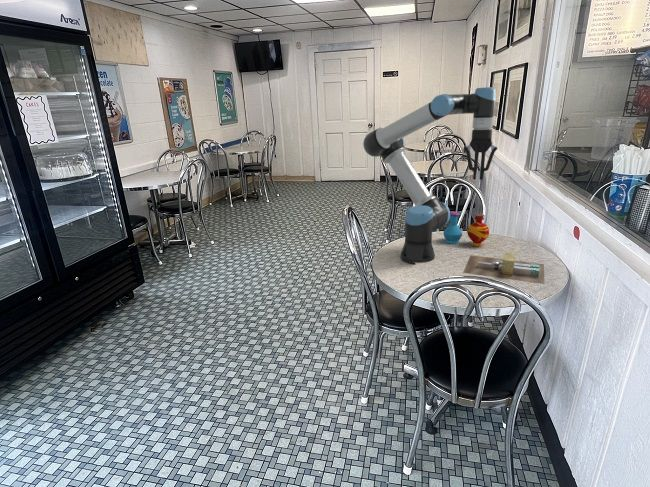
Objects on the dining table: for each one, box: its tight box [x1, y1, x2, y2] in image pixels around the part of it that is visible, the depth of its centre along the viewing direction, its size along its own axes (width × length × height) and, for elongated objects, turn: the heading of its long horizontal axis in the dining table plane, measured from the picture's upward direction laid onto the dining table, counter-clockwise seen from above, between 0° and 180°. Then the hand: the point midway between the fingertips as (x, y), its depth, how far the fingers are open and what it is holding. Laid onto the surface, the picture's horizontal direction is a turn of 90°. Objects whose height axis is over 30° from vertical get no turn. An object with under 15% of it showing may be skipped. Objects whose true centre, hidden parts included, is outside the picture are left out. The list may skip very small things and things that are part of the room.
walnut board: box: [463, 255, 546, 285], centre depth 161 cm, size 29×21×1 cm
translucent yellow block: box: [502, 252, 516, 275], centre depth 158 cm, size 4×9×6 cm, turn 153°
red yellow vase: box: [466, 213, 490, 247], centre depth 190 cm, size 10×10×15 cm
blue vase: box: [442, 211, 463, 244], centre depth 196 cm, size 9×9×15 cm
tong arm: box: [492, 260, 539, 269], centre depth 158 cm, size 17×4×3 cm, turn 67°
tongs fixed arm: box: [477, 261, 539, 277], centre depth 158 cm, size 23×4×3 cm, turn 63°
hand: (477, 187), depth 165 cm, fingers closed
